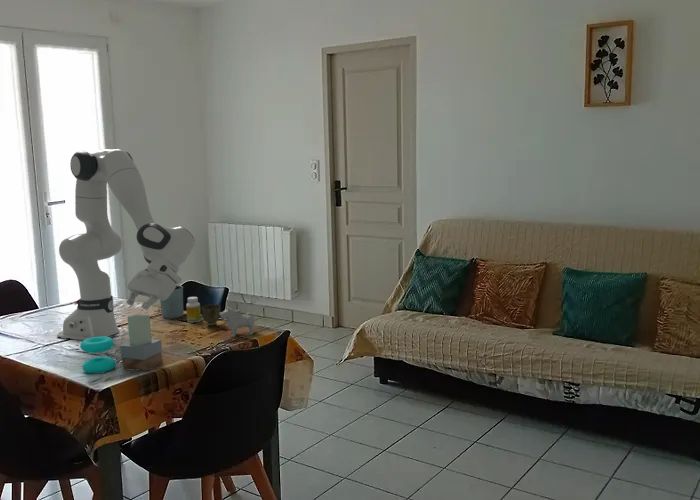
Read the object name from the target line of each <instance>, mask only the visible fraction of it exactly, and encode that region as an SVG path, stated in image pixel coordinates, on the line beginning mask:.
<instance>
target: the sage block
mask: <svg viewBox="0 0 700 500" xmlns="http://www.w3.org/2000/svg"><path fill="white" fill-rule="evenodd" d="M127 325H128V327H127V328H128V336H129V342H130V343H131V344H134V345H137V346H139V345H143V344H147V343H150V342H152V339H153V338H152V330H151V316H150V314H148V313H144V312H138V313H135V314H131V315H130V314H129V315H127Z"/></svg>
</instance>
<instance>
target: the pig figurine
mask: <svg viewBox="0 0 700 500" xmlns="http://www.w3.org/2000/svg"><path fill="white" fill-rule="evenodd" d="M225 308H226V309H224V310H223V311H220V313H219V314H220V318H221V319H223V320H226V321H225V324H226V325H227V327H228V328H230V329H231V332H230V334H231V337H236V335H237V330H238V328H248V331H247V332H248V333H249V335H250V336H251V335H253V334H254V327H255V323H256V319H255V317H254V314H253V313H252V312H247V313H246V314H242V310H241V309H236V310H234V309H233V308H231V307H229V306H226V307H225Z"/></svg>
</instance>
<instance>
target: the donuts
mask: <svg viewBox="0 0 700 500" xmlns="http://www.w3.org/2000/svg"><path fill="white" fill-rule="evenodd" d="M114 344H115V343H114V339H113V338H112V337H111V336H107V337H106V336H98V337H92V338H88V339H85V340H81V343H80V349H81V350H82V351H83V352H85V353H89V354H98V353H103V352H104V353H105V352H107V351H109V350H110V349H111V348H112V347H113V346H114ZM115 366H116V360H115V359H114V358H113V357H111V356H105V355H103V356H96V357H92V358H89V359H87V360H85V361H84V362H83V364H82V370H83V371H84V372H85V373H86V374H91V373H98V374H103V373H102V372H104V373H106V372H110V371H112V370H113V369H115Z"/></svg>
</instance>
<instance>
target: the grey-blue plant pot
mask: <svg viewBox="0 0 700 500" xmlns="http://www.w3.org/2000/svg"><path fill="white" fill-rule="evenodd" d="M159 302H160V306H161V316H162V318H164V319H177V317H178V318H181V317H183V316H184V313H185V312H184V311H185V310H184V286H182V285H179V284H177V285H176V288H175V289H174V291H173V292H172V294H171V295H170V296H169V297H168V298H167V299H166V300H164V301H162V300H159ZM180 316H181V317H180Z"/></svg>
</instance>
